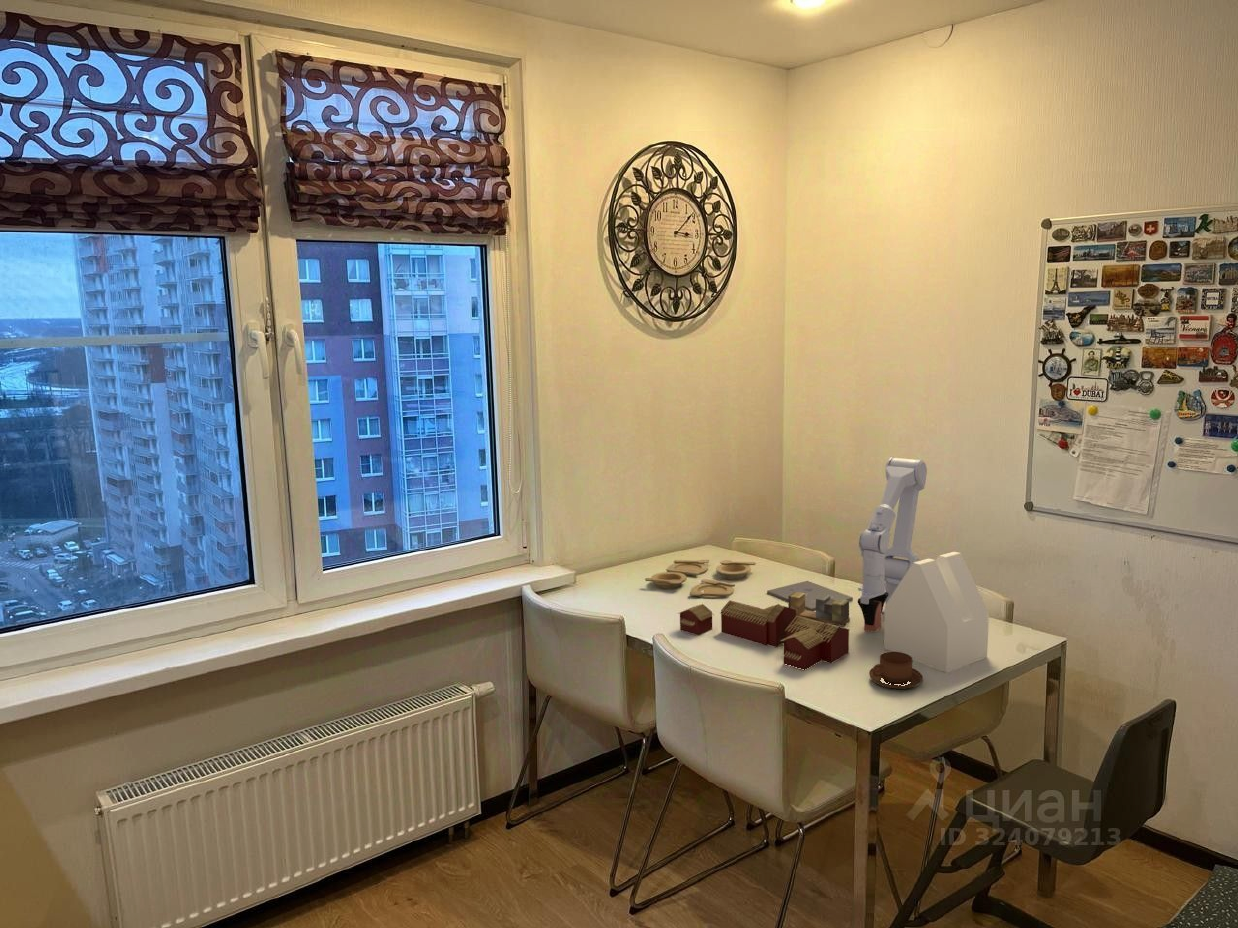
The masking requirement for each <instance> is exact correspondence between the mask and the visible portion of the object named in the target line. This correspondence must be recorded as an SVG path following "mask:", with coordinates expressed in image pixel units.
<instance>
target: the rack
mask: <svg viewBox="0 0 1238 928" xmlns="http://www.w3.org/2000/svg"><path fill="white" fill-rule="evenodd" d="M787 604H788V606H787V607H789V608H792V609H795V610H797V611H796V616H800V617H804V618H808V619H811V620H816V621H820V622H823V623H827V624H831V625H835V626H839V627H845V626H846V625H847V624H848V623H849V622H850V621H851V617H850V602H849V600H844V599H837V600H833V599H830V596H829V595H823V594H822V595H820V596H819V597H818V598H816V611H808V610H806V609H805V593H800V592H794V593H792V594H791V595H789V596H788V602H787Z"/></svg>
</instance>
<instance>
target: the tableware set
mask: <svg viewBox="0 0 1238 928" xmlns="http://www.w3.org/2000/svg"><path fill="white" fill-rule="evenodd" d="M709 563H710V559H698V560H684V559H683V560H682V559H674V560H673V563H672V564H669V565H668V567H667V568H666V571H663V572H659V573H655V574H653V575H652V576H651V577H646V578H645V579H644V580H645V581H646V582H652V583H653V584H655V585H657V586H658V587H659V588H662V589H676V588H678V587H679V586H681V584H683V583H684V582H686V581H687V576H699V575H701V574H703V573H706V572H707V571H708V570H709V567H708V565H707V564H709ZM719 563H720V564H719V565H717V566H716V568H715V571H716V572H717V573H719V574H721V575H722V576H723V578H725V579H727V580H741V579H743V578H744V577H745V576H746V574H748V573H749V572H751V571H752V567H751V566H756V565H757V563H756V561H734V560H733V561H732V560H721V561H719ZM735 586H736V584H735V583H733V582H732V583H731V582H726V581H720V580H715V579H714V580H712V579H705V578H702V579H701V583H700V584H697V585H694V586H693V587H691V589H690V591H689V594H688V595H689V596H692V597H699V598H703V599H721V598H725V597H729V596H731V595H732V594H734V588H735Z"/></svg>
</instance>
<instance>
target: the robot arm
mask: <svg viewBox="0 0 1238 928" xmlns="http://www.w3.org/2000/svg"><path fill="white" fill-rule="evenodd" d="M927 475H928V469H927V464H926V461H925V460H924V459H912V458H911V459H910V458H904V457H903V458H901V457H900V458H899V457H894V456H891V457H889V458H888V460H887V461H886V464H885V478H886V486H885V489H884V492H883V496H882V499H881V502H880V505H878V506H876V507H874V510H873V513H872V515H871V517H870V520H869V522H868V525H867V527H866V529H865V530H863V531H861V532H860V535H859V539H858V547H859V549H860V556H861V558H862V585H861V586H858V587H857V590H858V591H860V592H861V596H860V597H859V598H858V599H857V605H859V608H860V610H861V612H862V616H863V619H864V621H865V624H866V625H871V626H873V625H874V621H875V615H876V610H877V608H878V605H879V604H880V602H882V607H881V615H882V614H885V605H886V603H887V602H888V600H889V599H890V597H891V596H892V594H893V593H894V591H895V590H896V588H897V587H898V585H899V583H900V582H901V580H902V579H903V577H904V576H905V574H906V573H907V571H908V570H909V568H910V567H911V565H912V564H913V563H914V562H918V561H920V557H919V556H918V554H917V553H916V552H915V551H913V549H912V541H913V534H914V533H913V532H914V527H915V520H916V514H917V505H918V500H919V493H920V491H922V490H924V489H925V485H926V480H927ZM897 504H898V506H897V513H896V511H894V510H895V507H896V505H897ZM895 518H896V520H895ZM894 521H895V527H894V533H893V539H892V540H893V541H892V546H891V547H890V539H891V532H890V531H891V528H892V526H893V524H894ZM897 557H898V558H897ZM902 558H904V559H902ZM875 601H879V602H875Z"/></svg>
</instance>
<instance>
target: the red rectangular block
mask: <svg viewBox="0 0 1238 928" xmlns="http://www.w3.org/2000/svg"><path fill="white" fill-rule="evenodd" d="M875 602H879V601H875ZM881 607H882V602H880V604H879V605H878V608H877V610H876V615H875V621H874V625H873V626H871V625H866V624H865V621H864V623H863V625H864V626H863V627H864V628H863V630H864V631H867V632H871V633H876V632H877V631H878V630H879V629H880V628H881V627H882V614H881Z"/></svg>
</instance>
